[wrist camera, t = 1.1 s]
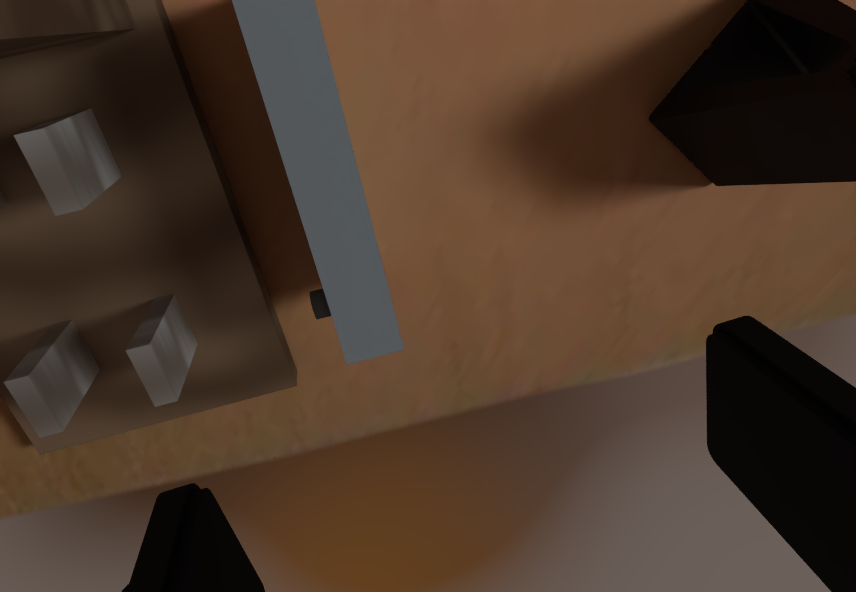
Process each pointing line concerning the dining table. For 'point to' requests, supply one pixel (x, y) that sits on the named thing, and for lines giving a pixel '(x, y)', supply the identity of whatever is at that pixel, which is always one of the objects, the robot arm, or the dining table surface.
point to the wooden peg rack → (118, 232)
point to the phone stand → (771, 97)
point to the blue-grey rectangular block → (321, 172)
